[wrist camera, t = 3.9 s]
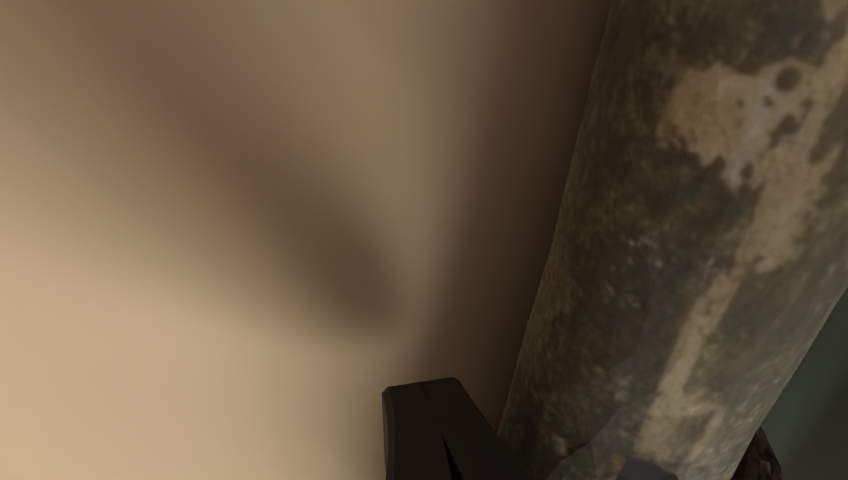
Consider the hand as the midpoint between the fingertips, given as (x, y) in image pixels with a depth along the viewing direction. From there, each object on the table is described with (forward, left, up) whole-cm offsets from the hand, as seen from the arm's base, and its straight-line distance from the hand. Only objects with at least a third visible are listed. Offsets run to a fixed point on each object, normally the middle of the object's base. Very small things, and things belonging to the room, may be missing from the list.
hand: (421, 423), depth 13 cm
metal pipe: (-4, 0, -2) cm, 5 cm away
